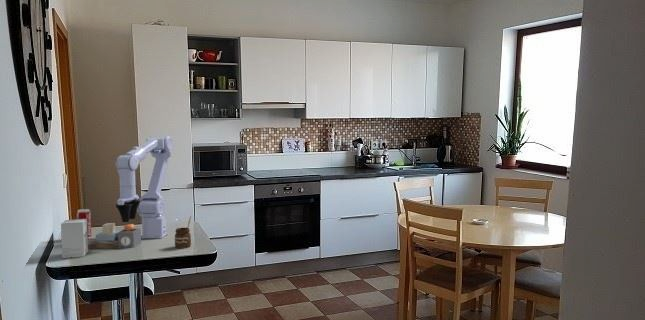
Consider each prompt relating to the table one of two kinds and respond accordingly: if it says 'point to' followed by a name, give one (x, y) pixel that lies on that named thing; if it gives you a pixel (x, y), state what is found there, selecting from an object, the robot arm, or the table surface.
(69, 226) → the supplement box
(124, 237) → the cabinet
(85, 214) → the soda can
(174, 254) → the table surface
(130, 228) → the button
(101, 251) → the table surface
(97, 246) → the rail track
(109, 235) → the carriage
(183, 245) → the brown jar with straw
